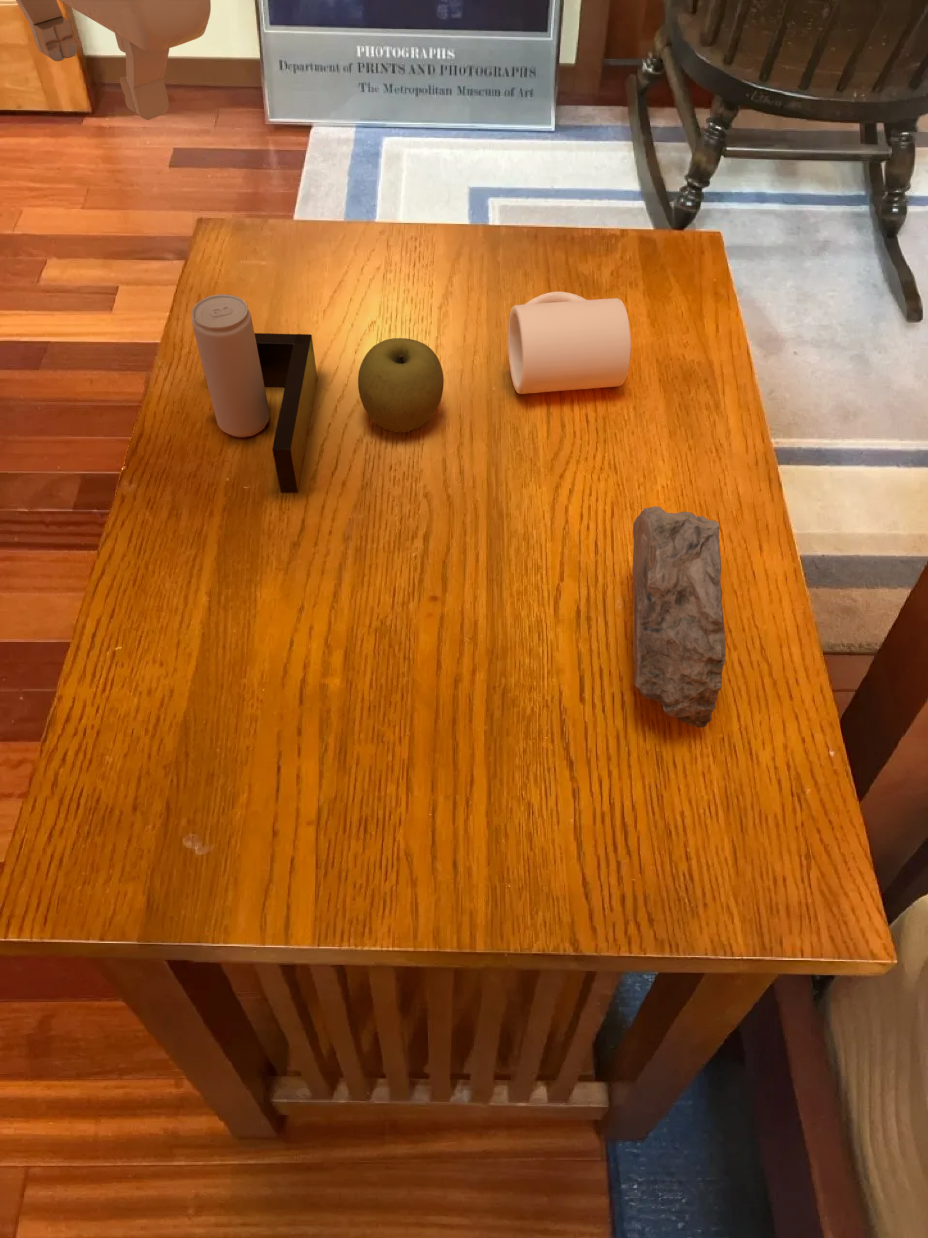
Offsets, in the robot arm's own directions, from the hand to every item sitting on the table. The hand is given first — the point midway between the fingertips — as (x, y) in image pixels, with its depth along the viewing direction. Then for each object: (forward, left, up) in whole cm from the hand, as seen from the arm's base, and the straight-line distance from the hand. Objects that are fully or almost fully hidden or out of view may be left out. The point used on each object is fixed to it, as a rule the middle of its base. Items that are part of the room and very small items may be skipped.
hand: (103, 82), depth 52 cm
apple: (+15, +12, -34) cm, 39 cm away
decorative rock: (+36, -14, -34) cm, 52 cm away
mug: (+30, +20, -34) cm, 50 cm away
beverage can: (0, +11, -34) cm, 36 cm away
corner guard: (+2, +10, -34) cm, 35 cm away
